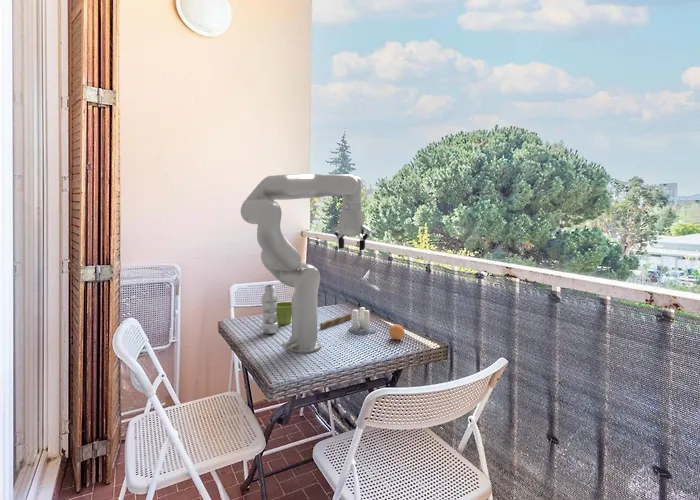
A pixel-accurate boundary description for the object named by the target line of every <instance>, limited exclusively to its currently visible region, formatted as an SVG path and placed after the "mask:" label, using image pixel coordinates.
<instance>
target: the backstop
mask: <svg viewBox="0 0 700 500" xmlns="http://www.w3.org/2000/svg"><path fill="white" fill-rule="evenodd" d="M352 318H353V313H345V314H343V315H340V316H337V317H334V318H331V319H328V320H326V321H323V322H320V323H319V328H320V330H325V329H328V328H331V327H333V326H335V325H339V324H341V323H344V322H347V321H350V320H352Z"/></svg>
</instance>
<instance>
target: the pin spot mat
mask: <svg viewBox="0 0 700 500" xmlns="http://www.w3.org/2000/svg"><path fill="white" fill-rule="evenodd" d="M370 327H371V329H369V331H368V332H364V331H363V328H359V325H358V331H352V326H351V327H349V328H348V329H347V331H348V332H349V333H351V334H353V335H357V336H368V334H370V335H373V333H374V334H375V333H377V329H376V328H375V330H374V329H373V328H374V327H373V326H370ZM372 327H373V328H372Z"/></svg>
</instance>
